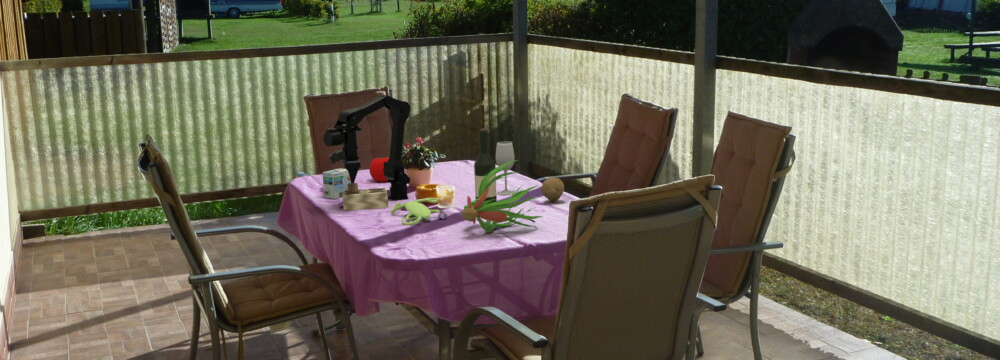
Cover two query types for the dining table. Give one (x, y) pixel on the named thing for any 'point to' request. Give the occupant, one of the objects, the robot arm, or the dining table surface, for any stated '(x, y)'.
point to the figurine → (418, 210)
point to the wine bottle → (484, 167)
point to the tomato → (378, 169)
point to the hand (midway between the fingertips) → (352, 182)
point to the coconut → (552, 189)
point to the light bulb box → (335, 183)
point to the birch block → (365, 199)
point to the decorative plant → (496, 204)
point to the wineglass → (502, 153)
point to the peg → (352, 187)
